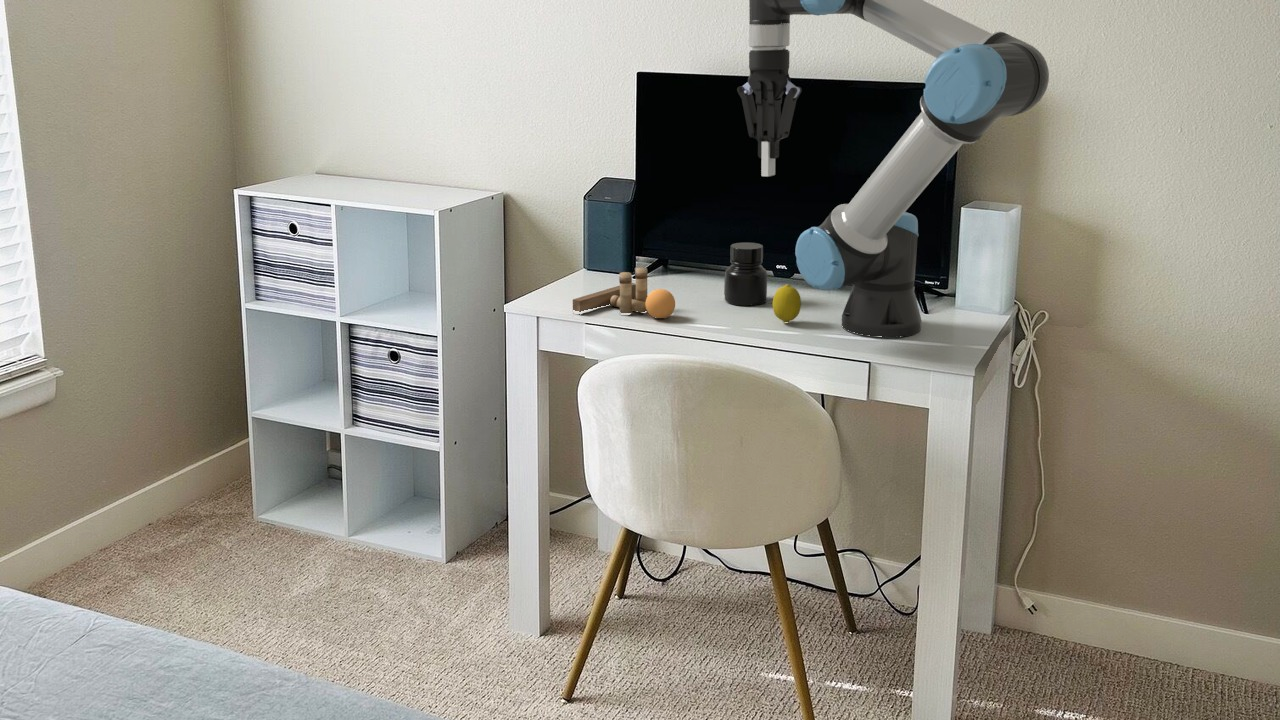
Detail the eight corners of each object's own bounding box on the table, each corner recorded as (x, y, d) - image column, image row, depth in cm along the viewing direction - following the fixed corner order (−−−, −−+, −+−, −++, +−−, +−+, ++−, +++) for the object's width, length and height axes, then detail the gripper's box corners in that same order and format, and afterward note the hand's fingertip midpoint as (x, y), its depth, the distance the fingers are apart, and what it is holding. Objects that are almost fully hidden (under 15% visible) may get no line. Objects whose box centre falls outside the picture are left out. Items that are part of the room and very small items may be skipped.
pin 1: (634, 313, 238) (634, 273, 236) (626, 316, 236) (626, 275, 234) (625, 311, 240) (624, 271, 237) (617, 314, 238) (616, 273, 235)
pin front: (649, 301, 238) (618, 294, 244) (641, 302, 236) (610, 295, 242) (648, 313, 239) (617, 306, 244) (640, 314, 237) (609, 307, 242)
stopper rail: (636, 297, 250) (636, 283, 250) (580, 315, 237) (579, 301, 236) (629, 296, 252) (629, 282, 251) (572, 313, 239) (572, 299, 238)
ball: (654, 304, 239) (677, 319, 236) (636, 313, 235) (659, 327, 232) (661, 280, 236) (684, 294, 233) (643, 288, 231) (666, 302, 229)
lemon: (796, 328, 227) (798, 288, 225) (769, 325, 229) (770, 286, 227) (803, 321, 232) (804, 282, 230) (775, 318, 234) (777, 279, 232)
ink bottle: (759, 294, 252) (760, 240, 249) (774, 304, 244) (776, 248, 241) (716, 298, 250) (717, 243, 246) (731, 308, 242) (732, 251, 238)
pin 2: (650, 308, 242) (650, 268, 239) (642, 311, 240) (642, 271, 237) (640, 306, 243) (640, 267, 241) (633, 309, 242) (632, 269, 239)
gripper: (810, 47, 217) (807, 175, 223) (749, 47, 224) (749, 171, 231) (790, 49, 211) (788, 180, 218) (728, 49, 218) (729, 175, 225)
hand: (768, 175), depth 224 cm, fingers closed
